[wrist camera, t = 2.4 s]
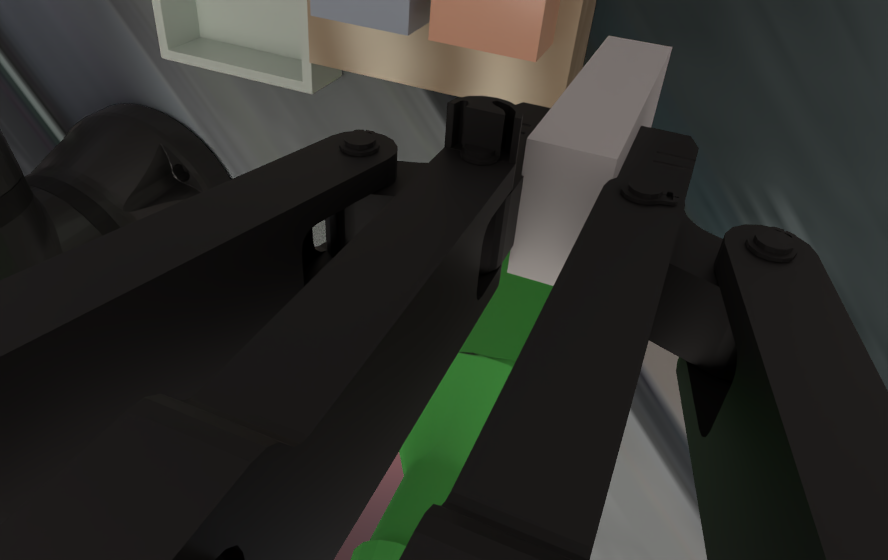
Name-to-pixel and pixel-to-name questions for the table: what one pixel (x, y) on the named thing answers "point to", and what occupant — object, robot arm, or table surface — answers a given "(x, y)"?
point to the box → (243, 40)
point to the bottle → (457, 412)
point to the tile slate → (376, 13)
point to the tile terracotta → (496, 25)
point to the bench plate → (457, 58)
